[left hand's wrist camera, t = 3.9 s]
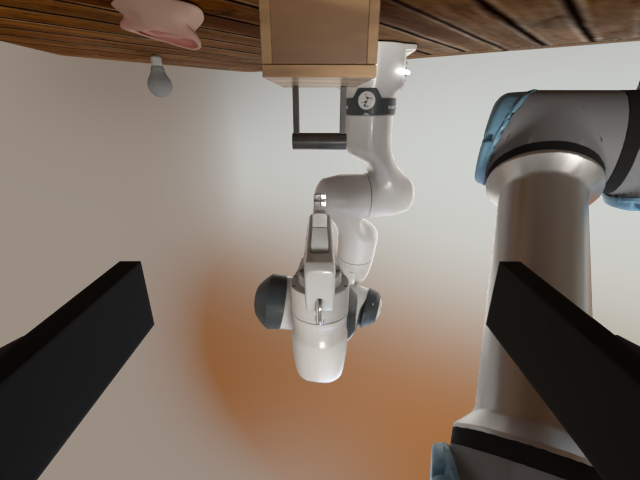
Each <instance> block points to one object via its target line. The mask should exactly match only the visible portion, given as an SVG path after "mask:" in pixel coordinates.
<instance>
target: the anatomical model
mask: <svg viewBox="0 0 640 480" xmlns="http://www.w3.org/2000/svg"><path fill="white" fill-rule="evenodd" d="M111 5H112V6H113V7H114V8H115V9H116V10H118V11H119V12H120V13H121V14H122V15H123V16H124V17H123V19H122V20H121V21H120V26H121V28H122V29H124V30H126V31H129V32H133V33H136V34H140V35H143V36H146V37H149V38H152V39H155V40H158V41H162V42H166V43H169V44H172V45H176V46H179V47H183V48H186V49H191V50H199V49H200V48H201V42H200V39H199V37H198V36H197V34H196V33H195V31H196V29H197V28H198V27H199V26H200V25H201V24H202V22H203V20H204V15H203V12H202V11H201V9H200V8H199V7H197V6H195V5H193V4H190V3H187V2H183V1H179V0H113V1H112V2H111Z"/></svg>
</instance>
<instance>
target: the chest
mask: <svg viewBox="0 0 640 480" xmlns="http://www.w3.org/2000/svg"><path fill="white" fill-rule="evenodd" d="M259 17H260V35H261V53H262V64H264V65H376V64H377V53H378V35H379V17H380V0H259Z"/></svg>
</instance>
